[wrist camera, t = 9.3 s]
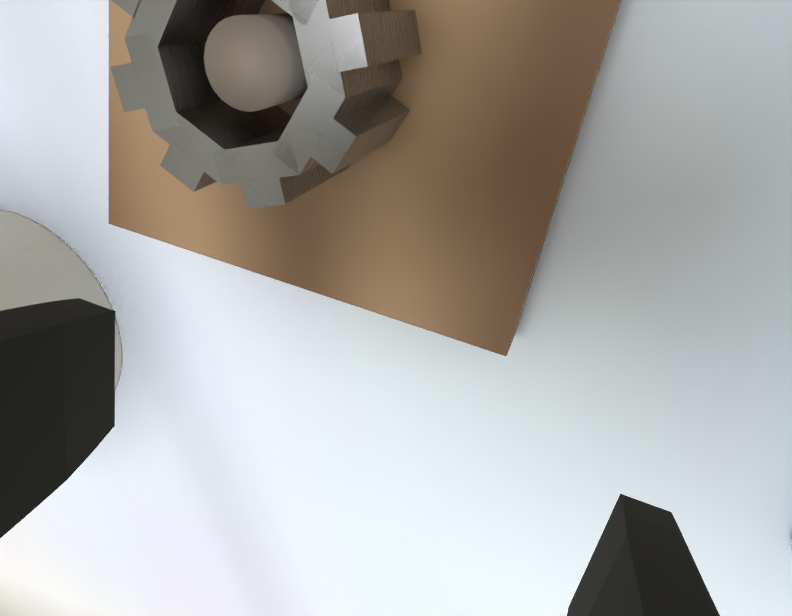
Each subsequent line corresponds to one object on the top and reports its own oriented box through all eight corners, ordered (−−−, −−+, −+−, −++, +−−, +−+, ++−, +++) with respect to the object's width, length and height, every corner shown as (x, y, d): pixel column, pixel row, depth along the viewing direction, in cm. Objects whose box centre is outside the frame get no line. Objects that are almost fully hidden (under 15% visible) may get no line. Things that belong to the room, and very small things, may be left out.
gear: (396, -109, 14) (329, -139, 11) (438, 155, 16) (391, 192, 13) (177, -48, 16) (70, -59, 13) (238, 182, 18) (157, 219, 15)
